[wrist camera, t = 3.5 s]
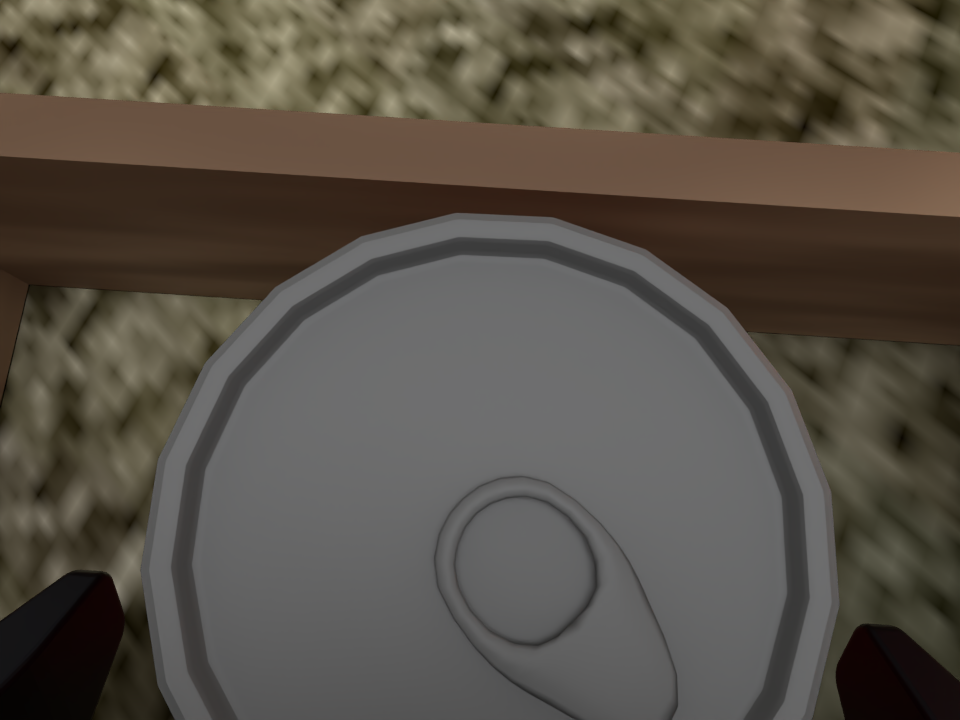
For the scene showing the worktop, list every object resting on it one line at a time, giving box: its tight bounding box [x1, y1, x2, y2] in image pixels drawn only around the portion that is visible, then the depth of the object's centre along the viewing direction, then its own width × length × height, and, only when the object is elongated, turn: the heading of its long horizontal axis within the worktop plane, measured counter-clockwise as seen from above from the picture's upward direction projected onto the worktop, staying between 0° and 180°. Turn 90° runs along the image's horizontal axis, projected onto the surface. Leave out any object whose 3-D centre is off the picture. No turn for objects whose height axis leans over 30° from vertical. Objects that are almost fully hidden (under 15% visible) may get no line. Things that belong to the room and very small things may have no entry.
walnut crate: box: [0, 93, 960, 404], centre depth 13 cm, size 13×27×8 cm, turn 86°
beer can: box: [141, 213, 839, 720], centre depth 11 cm, size 7×7×12 cm
